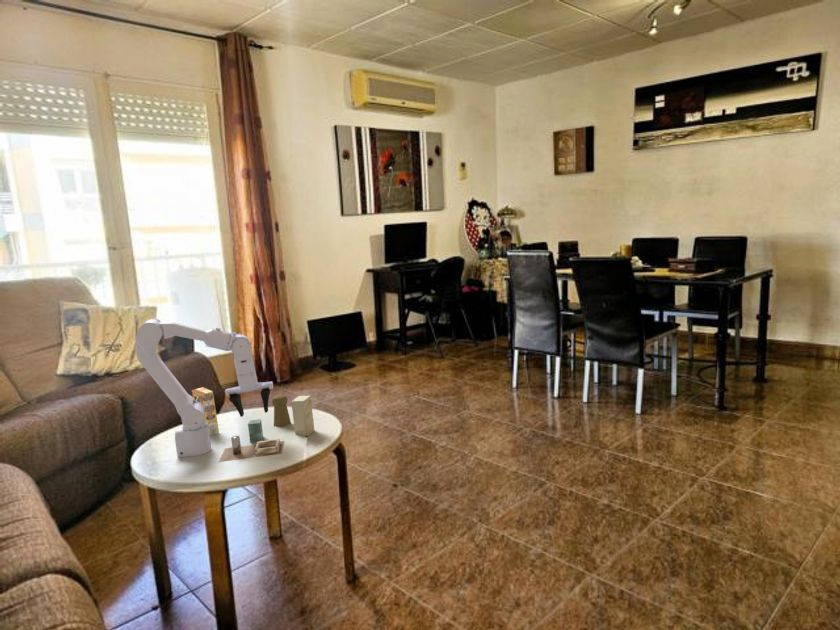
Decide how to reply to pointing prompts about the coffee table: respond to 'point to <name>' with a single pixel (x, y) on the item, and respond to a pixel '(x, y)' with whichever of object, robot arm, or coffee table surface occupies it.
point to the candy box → (207, 408)
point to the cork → (280, 411)
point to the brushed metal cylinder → (236, 445)
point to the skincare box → (303, 415)
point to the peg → (255, 430)
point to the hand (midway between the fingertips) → (254, 413)
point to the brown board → (254, 450)
